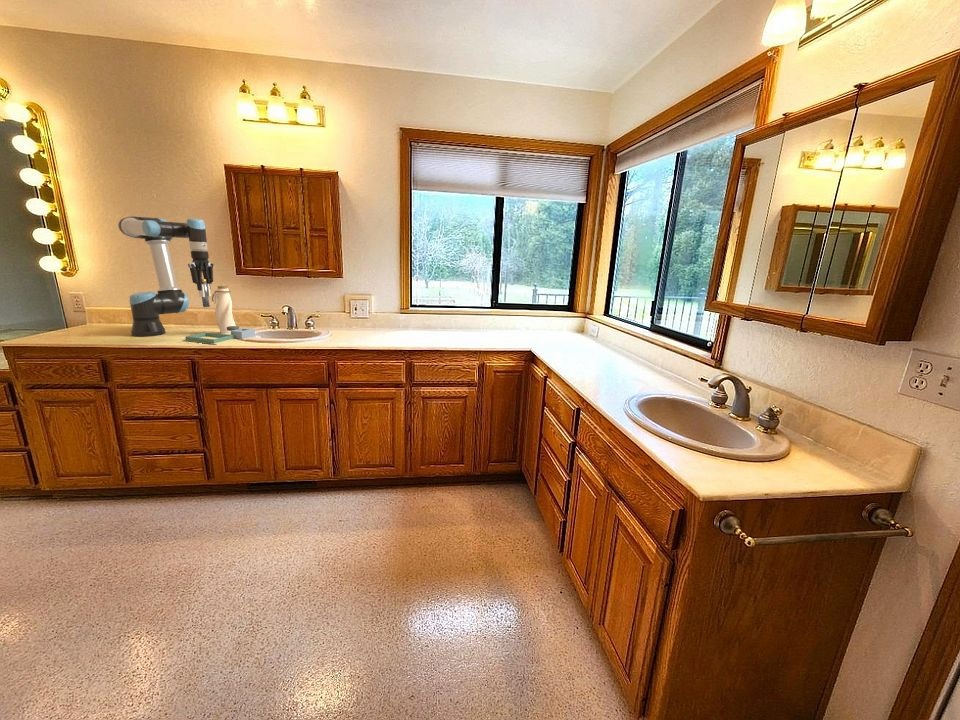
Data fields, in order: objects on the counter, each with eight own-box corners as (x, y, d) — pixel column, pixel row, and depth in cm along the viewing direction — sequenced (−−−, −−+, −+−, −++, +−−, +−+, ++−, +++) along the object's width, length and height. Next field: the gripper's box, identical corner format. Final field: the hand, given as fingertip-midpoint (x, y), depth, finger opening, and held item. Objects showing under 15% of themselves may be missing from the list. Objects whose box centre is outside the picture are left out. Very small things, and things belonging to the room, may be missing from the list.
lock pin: (201, 306, 215) (198, 279, 212) (206, 306, 218) (203, 278, 215) (206, 307, 215) (202, 279, 211) (211, 306, 218) (207, 279, 214)
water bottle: (217, 336, 234) (211, 287, 226) (215, 333, 240) (209, 285, 233) (238, 334, 240) (232, 286, 233) (235, 331, 247) (230, 285, 239)
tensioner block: (221, 338, 228) (220, 327, 227) (235, 335, 238) (234, 325, 236) (243, 340, 225) (241, 329, 224) (256, 337, 235) (255, 327, 233)
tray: (185, 342, 217) (185, 336, 216) (206, 337, 229) (205, 332, 228) (214, 345, 213) (213, 339, 212) (233, 340, 226) (233, 335, 225)
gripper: (191, 250, 201) (197, 298, 207) (218, 251, 216) (223, 295, 222) (179, 250, 202) (185, 297, 208) (206, 250, 217) (211, 294, 223)
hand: (205, 296), depth 215 cm, fingers closed on lock pin, 3 cm apart
